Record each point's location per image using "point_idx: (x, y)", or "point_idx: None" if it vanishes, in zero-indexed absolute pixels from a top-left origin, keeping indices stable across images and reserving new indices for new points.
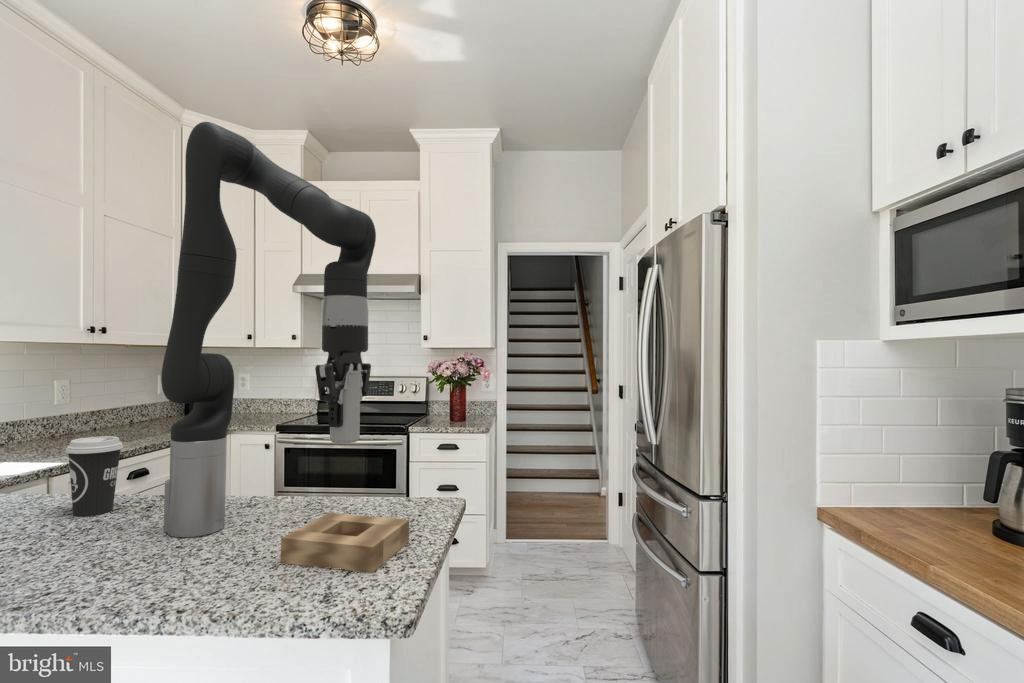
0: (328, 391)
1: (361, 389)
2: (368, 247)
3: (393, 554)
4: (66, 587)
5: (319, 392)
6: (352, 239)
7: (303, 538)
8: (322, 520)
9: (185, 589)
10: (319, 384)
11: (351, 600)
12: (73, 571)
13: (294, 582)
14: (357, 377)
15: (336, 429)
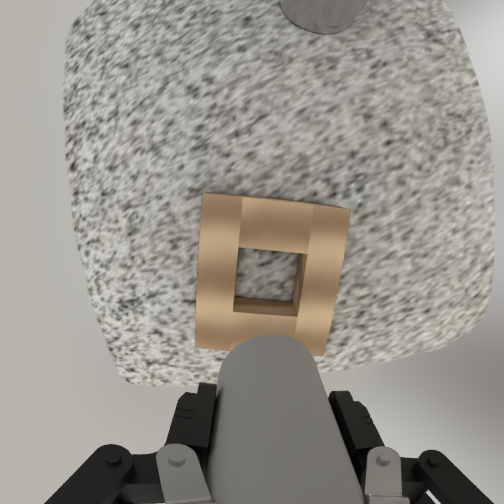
0: (164, 497)
1: (418, 497)
2: None
3: None
4: (116, 13)
5: (79, 472)
6: None
7: (206, 233)
8: (305, 218)
9: (115, 127)
10: (56, 502)
11: (131, 330)
12: None
13: (153, 247)
14: None
15: (217, 391)
